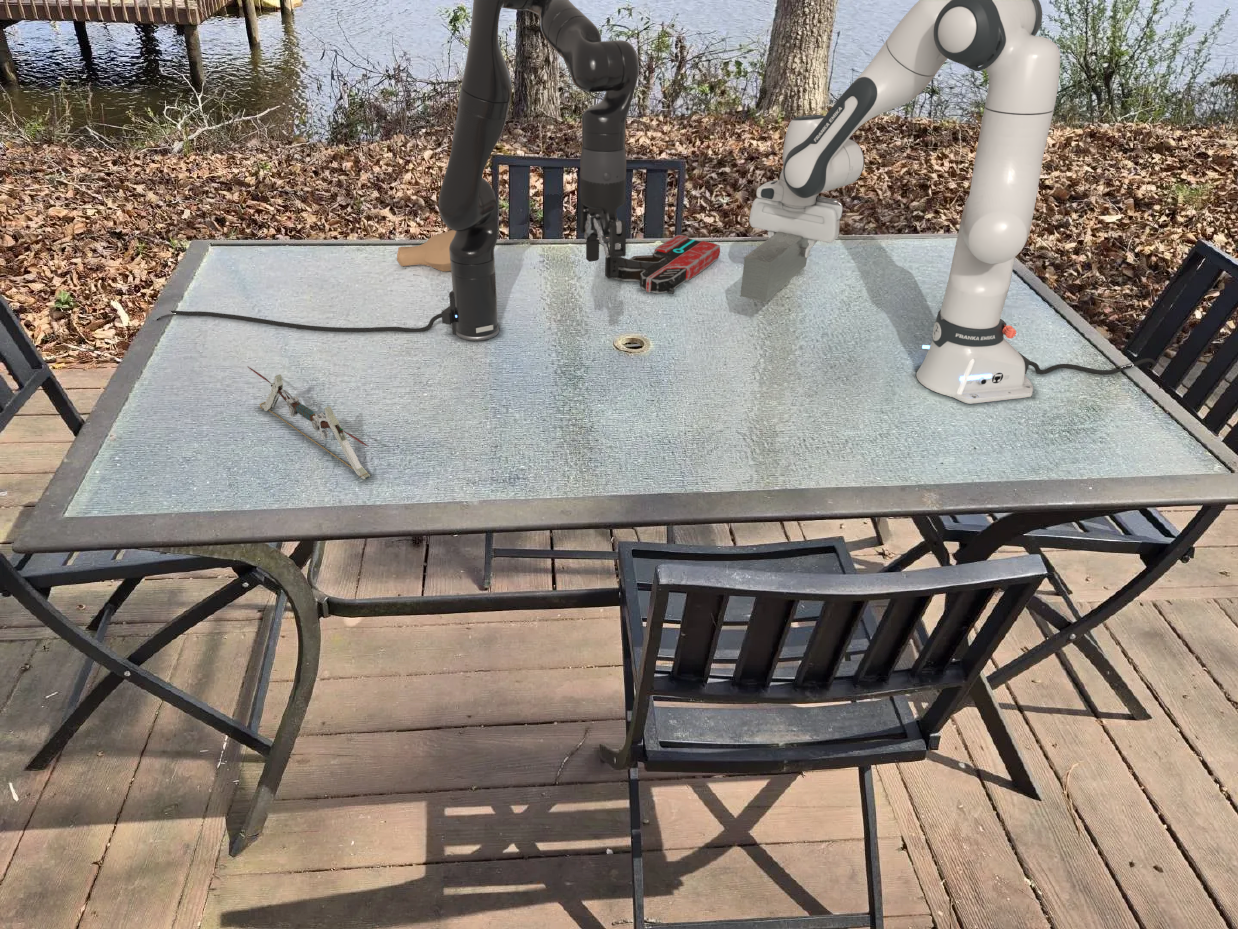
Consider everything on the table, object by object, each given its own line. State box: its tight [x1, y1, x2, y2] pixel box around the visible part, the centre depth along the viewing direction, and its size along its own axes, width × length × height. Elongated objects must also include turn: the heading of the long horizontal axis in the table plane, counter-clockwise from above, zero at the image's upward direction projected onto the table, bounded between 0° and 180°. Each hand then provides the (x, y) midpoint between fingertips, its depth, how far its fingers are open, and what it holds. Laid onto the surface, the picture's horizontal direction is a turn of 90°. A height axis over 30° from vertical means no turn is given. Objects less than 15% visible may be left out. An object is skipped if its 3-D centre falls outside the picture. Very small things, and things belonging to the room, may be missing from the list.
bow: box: [247, 365, 371, 480], centre depth 151 cm, size 39×2×10 cm, turn 47°
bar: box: [739, 232, 810, 303], centre depth 193 cm, size 25×6×9 cm, turn 150°
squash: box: [396, 229, 456, 273], centre depth 222 cm, size 11×20×9 cm, turn 90°
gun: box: [613, 234, 721, 295], centre depth 225 cm, size 4×31×19 cm
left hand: (601, 268), depth 153 cm, fingers open, 8 cm apart
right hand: (789, 253), depth 199 cm, fingers closed on bar, 6 cm apart
